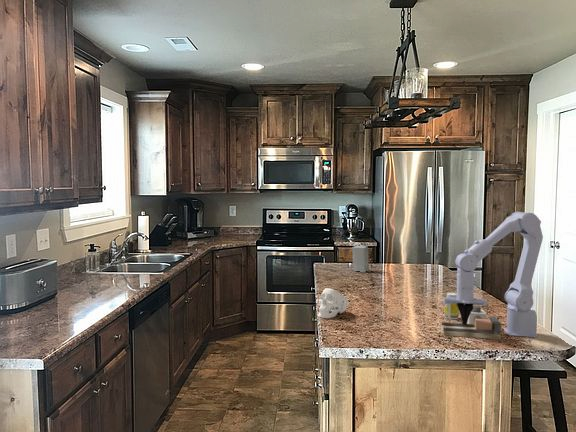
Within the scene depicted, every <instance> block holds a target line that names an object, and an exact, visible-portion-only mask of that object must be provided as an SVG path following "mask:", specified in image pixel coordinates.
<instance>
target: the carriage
mask: <svg viewBox="0 0 576 432" xmlns="http://www.w3.org/2000/svg"><path fill="white" fill-rule="evenodd" d="M475 329H478V330H492V322H491V321H490V318H488V319H487V318H486V319H475Z"/></svg>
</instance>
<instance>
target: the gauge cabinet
mask: <svg viewBox="0 0 576 432" xmlns="http://www.w3.org/2000/svg"><path fill="white" fill-rule="evenodd" d="M475 319H487V313H486V311H485V309H481V313H477V312H473V310H472V312H471V313H470V315H469V318H468V321H467V324H475Z"/></svg>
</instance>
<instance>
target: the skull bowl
mask: <svg viewBox="0 0 576 432" xmlns="http://www.w3.org/2000/svg"><path fill="white" fill-rule="evenodd" d="M318 304H319V308H318V310H319V312H318V314H317V317H318V318H322V319H332V318H335V317H336V316H337V315H338V314H342V313H344V312H345V311H346V309H347V308H348V307H349V304H350V303H349V300H348V298H347V297H345V296H344V295H343V294H342V293H340V291H337V290H336V289H333V288H327V287H325V288H324V289H323V291H322V293H321V294H320V296H319V300H318Z"/></svg>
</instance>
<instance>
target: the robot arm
mask: <svg viewBox="0 0 576 432" xmlns="http://www.w3.org/2000/svg"><path fill="white" fill-rule="evenodd" d="M541 224H542V220H541V219H539V217H538V216H537V215H536V214H535V213H533V212H524V211H523V212H522V211H515V212H513V213H511V215H508V216H507V217H506V218H505V219H504V221H503V222H502V223H500V224H499V225H498V227H497V228H495V229H494V230H493V231H492V232H491V233H490V234H489V235H488V236H487V237H486V238H485V239H483V238H482V239H478V240H477V239H476V240H475V241H474V242H473V244H472V245H471V246H470V247H469V248H467V249H465V250H463V251H464V253H460V254H458V255H457V256H456V258H455V260H454V264H455V266H456V269H457V270H456V272H457V273H456V294H457V297H450V298H447V297H443V304H444V305H445V304H457V307H458V309H459V314H460V318H461V323H462V324H463V325H467V321H468V318H469V315H470V313H471V312H472V310H473V307H474V306H484V307H487V305H488V304H487V302H488V301H487V299H483V298H477V297H476V298H474V291H475V289H474V288H475V287H474V286H475V285H474V284H475V283H474V282H475V281H474V280H475V270H476V268H477V266H478V263H479V262H481V261H482V260H483V259H485V257H487V255H488V256H489V254H490V253H491V252H492V251H493V247H494V246H495V245H496V244H497V243H498V242H499V241H501V240H502V239H504V238H505V237H506V236H508V235H509V234H510V233H516V232H519V233H520V235H521V236H522V237H523V238H524V242H523V246H522V250H521V255H520V258H519V262H518V266H517V269H516V274H515V277H514V280H513V282H511V283H510V284H509V287H508V289H507V291H506V292H505V293H504V300H505V302H506V303H507V307H506V309H507V310H506V311H507V312H506V327H503V331H505V333H506V334H507V335H508V336H511V337H527V338H537V337H538V335H537V329H538V328H537V327H538V326H537V325H538V315H537V312H536V310H534V309H532V308H533V306H534V298H533V297H534V296H533V295H534V290H533V288H532V281H533V279H534V274H535V269H536V265H537V263H538V260H539V259H538V258H539V256H540V255H539V254H540V250H541V248H542V243H543V239H544V235H543V231H542V228H541Z"/></svg>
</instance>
